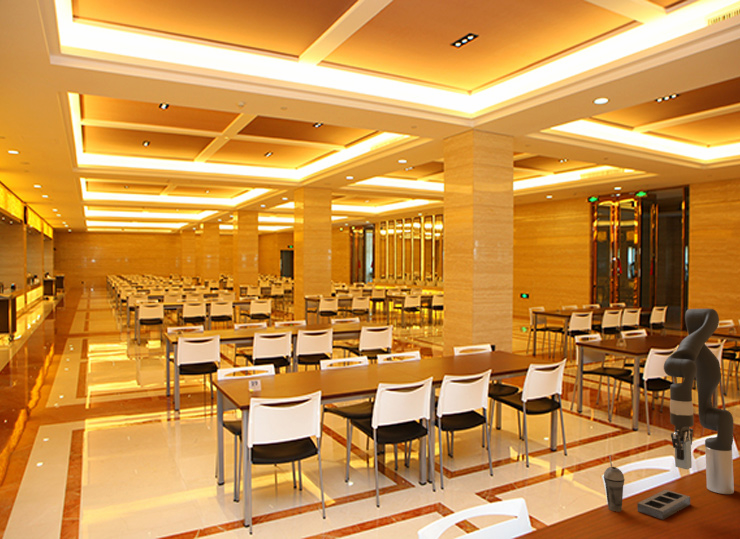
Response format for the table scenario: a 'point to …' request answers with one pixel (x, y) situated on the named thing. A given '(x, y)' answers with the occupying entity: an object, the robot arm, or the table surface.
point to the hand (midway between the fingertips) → (683, 458)
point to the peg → (687, 456)
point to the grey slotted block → (663, 504)
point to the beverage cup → (614, 487)
